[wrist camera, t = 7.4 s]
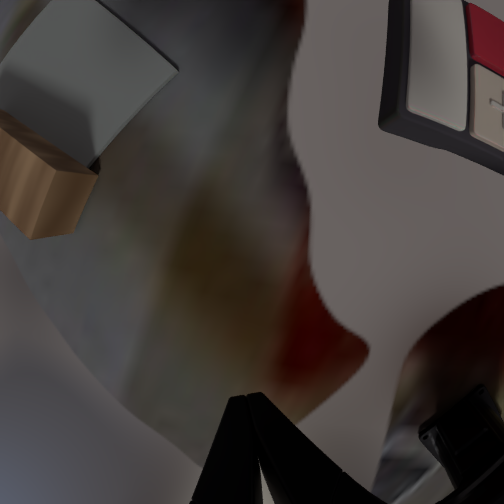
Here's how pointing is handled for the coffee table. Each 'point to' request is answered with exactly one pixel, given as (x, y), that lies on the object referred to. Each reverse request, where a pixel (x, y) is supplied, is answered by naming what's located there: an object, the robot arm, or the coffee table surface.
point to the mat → (80, 77)
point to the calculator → (445, 78)
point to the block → (40, 182)
